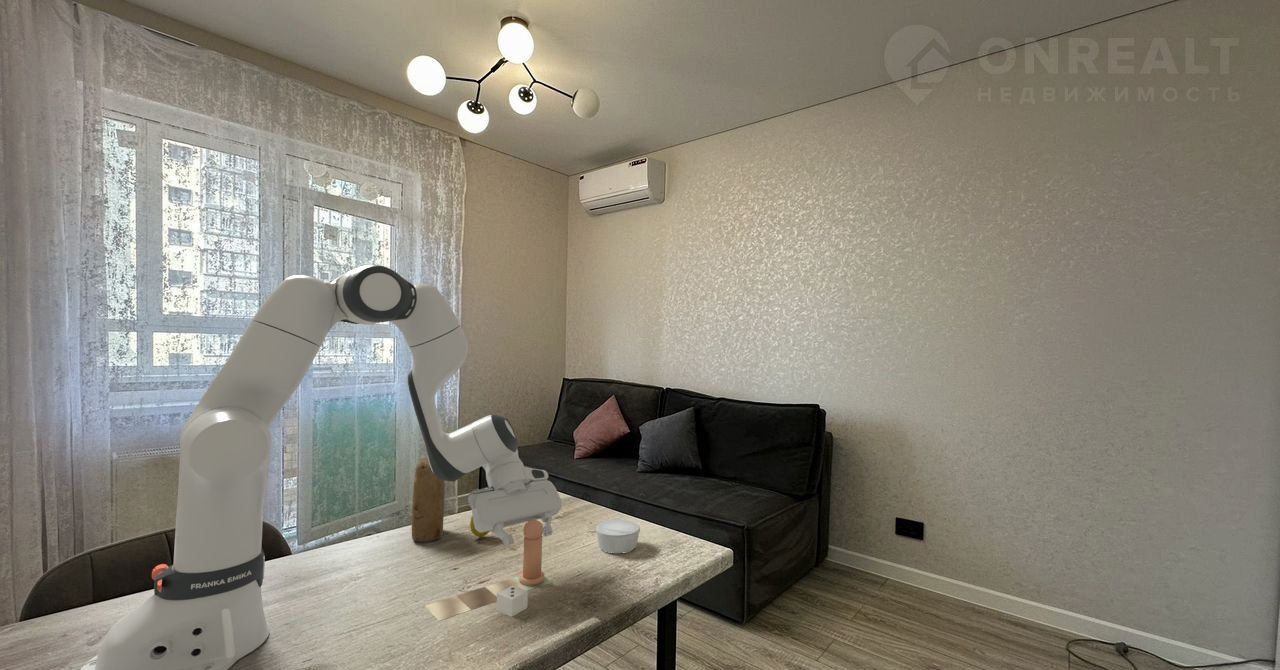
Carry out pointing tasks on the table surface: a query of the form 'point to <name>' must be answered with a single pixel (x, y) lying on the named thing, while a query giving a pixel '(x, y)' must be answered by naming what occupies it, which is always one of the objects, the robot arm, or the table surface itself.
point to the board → (475, 598)
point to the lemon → (476, 530)
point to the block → (427, 504)
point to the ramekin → (617, 535)
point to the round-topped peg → (532, 554)
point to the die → (512, 600)
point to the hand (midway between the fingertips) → (529, 539)
